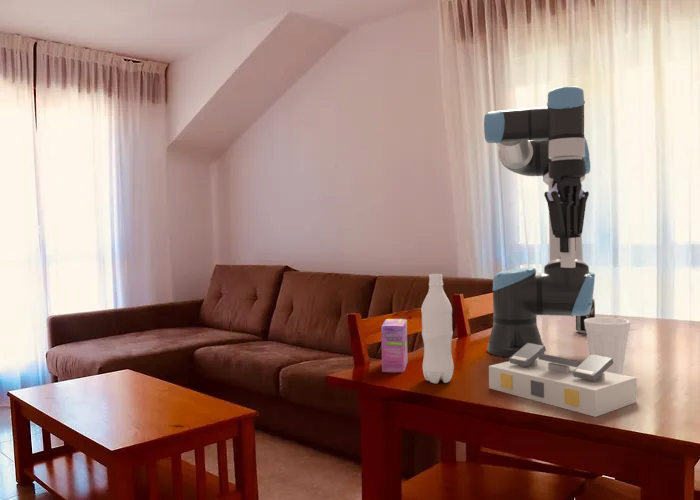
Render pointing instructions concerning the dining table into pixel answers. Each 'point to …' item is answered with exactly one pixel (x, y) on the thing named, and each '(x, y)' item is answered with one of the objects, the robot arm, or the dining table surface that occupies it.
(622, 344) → the cup
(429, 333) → the water bottle
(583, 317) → the beverage can
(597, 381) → the console
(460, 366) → the dining table surface
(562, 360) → the switch
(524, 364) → the switch
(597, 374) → the switch
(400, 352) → the box
